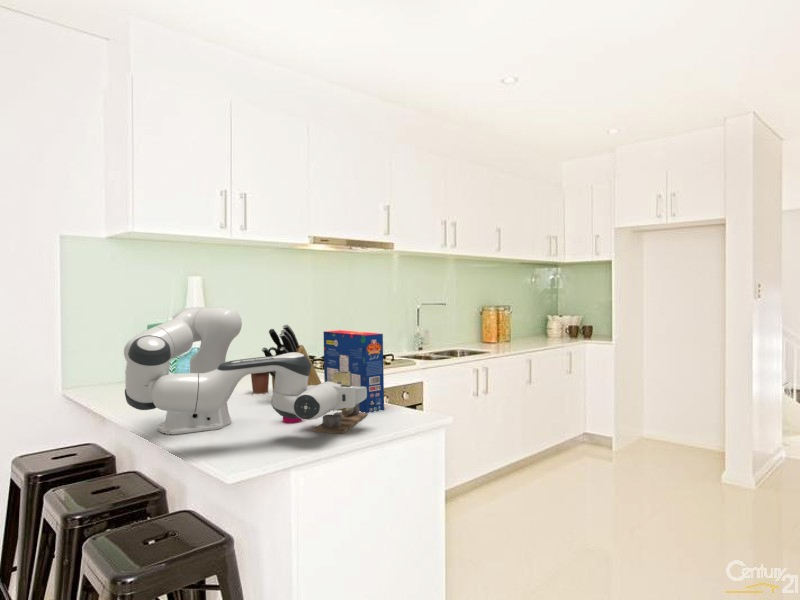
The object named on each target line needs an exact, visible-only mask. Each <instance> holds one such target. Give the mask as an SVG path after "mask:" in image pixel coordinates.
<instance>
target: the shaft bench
mask: <svg viewBox="0 0 800 600" xmlns="http://www.w3.org/2000/svg"><path fill="white" fill-rule="evenodd" d="M368 414H369V413H363V412H359V403H358V404H355V407H353V408H350V409H348V410H347V411H342V410H341V411H340V412H339V411H338V412H335V413H333V414H325V415H323V416H322V423H321V424H318V425H317V426H316V427H314V428H313V433H325V432H326V433H329V434H345V433H347V432H348V431H349V430H351V429H352V428H353V427H354V425H355V426H356V425H357V424H359V423H360V422H362V421H363V420H364V419H365V418H367V417H368V416H367V415H368ZM366 416H367V417H366ZM363 418H364V419H363ZM362 419H363V420H362ZM358 422H359V423H358ZM350 428H351V429H350ZM346 431H347V432H346Z"/></svg>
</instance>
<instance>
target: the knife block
mask: <svg viewBox="0 0 800 600" xmlns="http://www.w3.org/2000/svg"><path fill="white" fill-rule="evenodd" d="M268 333H269V334H268V335H269V336H270V338H271V340H272V341H273V343H274V344H275V345H276V347H274V346H272V347H269V348H267V347H262V348H261V351H262V352H263V354H264V357H267V356H275V355H280V354H286V353H291V352H297V353H301V354H304V355H305V356H306V357H307V358H308V359H309V361H310V363H311V365H312V366H311V370H310V375H309V378H308V385H307V386H309V385H319V384H321V383H322V381H321V379H320V377H319V375H318V373H317V371H316V368H315V367H314V364H313V363H312V360H311V358H310V357H309V354H308V353H307V350H306V349H305V347H304V345H303V344H299V342H298V340H297V337H296V334H295V332H294V331H293V329H292V328H291V326H289V325H288V324H284V325H282V329H281V331H280V334H279V335H278V333H277V332H276V330H275V329H274V328H270V329H269V330H268ZM281 342H282V343H281ZM271 351H274V352H275V354H274V355H273V354H272V352H271ZM275 375H276V372H275V371H270V372H269V376H271V382H272V383H271V384H272V385H271V386H272V390H273V389H274V383H275Z"/></svg>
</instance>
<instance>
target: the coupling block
mask: <svg viewBox="0 0 800 600" xmlns="http://www.w3.org/2000/svg"><path fill="white" fill-rule="evenodd" d="M333 382H334V383H337V384H341V385H348V386H351V375H350V372H340V371H338V372H335V373H333ZM348 409H350V408H345V409H338V410H337V411H341V412H342V411H347V410H348Z"/></svg>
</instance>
